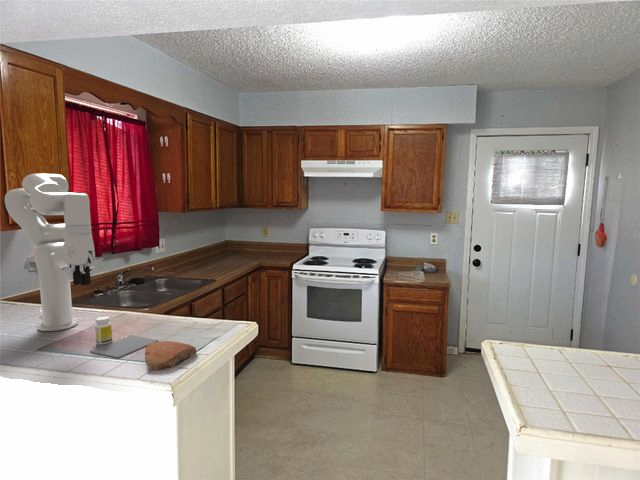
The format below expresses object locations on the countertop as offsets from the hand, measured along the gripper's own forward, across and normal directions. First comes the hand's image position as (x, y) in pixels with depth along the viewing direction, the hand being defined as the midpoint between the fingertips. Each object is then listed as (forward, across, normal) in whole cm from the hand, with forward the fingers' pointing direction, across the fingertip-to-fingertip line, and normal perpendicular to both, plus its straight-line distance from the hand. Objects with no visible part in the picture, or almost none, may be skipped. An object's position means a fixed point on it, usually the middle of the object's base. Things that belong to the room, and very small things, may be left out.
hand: (82, 283), depth 141 cm
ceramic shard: (+20, +38, -4) cm, 43 cm away
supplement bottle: (+19, +9, 0) cm, 21 cm away
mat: (+19, +19, 0) cm, 27 cm away
